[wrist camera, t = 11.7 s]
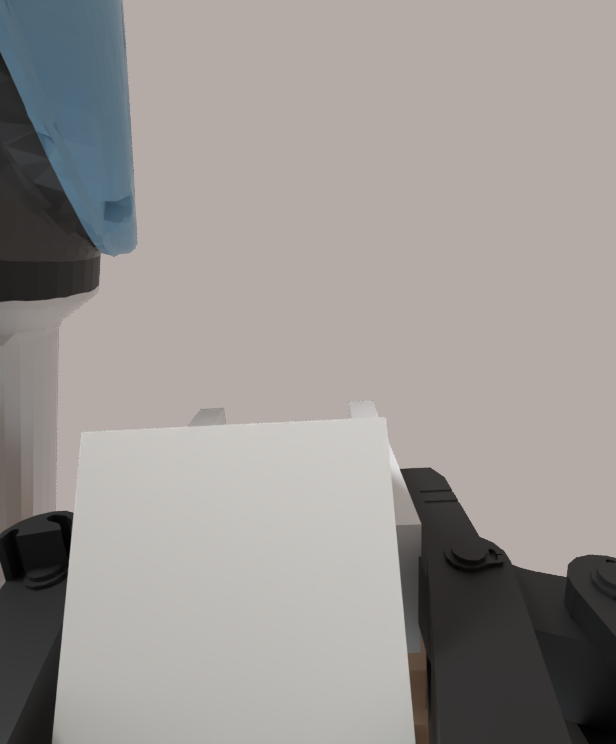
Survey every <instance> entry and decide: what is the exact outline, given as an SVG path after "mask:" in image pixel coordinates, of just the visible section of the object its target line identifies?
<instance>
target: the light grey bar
mask: <svg viewBox="0 0 616 744" xmlns="http://www.w3.org/2000/svg"><path fill="white" fill-rule="evenodd" d="M74 506H75V507H74V516H73V526H72V537H71V547H70V558H69V568H68V579H67V589H66V600H65V610H64V621H63V631H62V642H61V652H60V663H59V673H58V683H57V694H56V704H55V715H54V725H53V736H52V744H416V743H415V732H414V721H413V710H412V699H411V688H410V677H409V666H408V655H407V644H406V633H405V622H404V611H403V600H402V589H401V578H400V567H399V556H398V545H397V534H396V523H395V512H394V501H393V490H392V479H391V468H390V457H389V446H388V436H387V425H386V417H375V418H355V419H335V420H315V421H295V422H274V423H254V424H234V425H213V426H193V427H173V428H153V429H134V430H112V431H91V432H82V433H81V443H80V454H79V464H78V474H77V485H76V495H75V505H74Z"/></svg>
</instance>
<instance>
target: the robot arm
mask: <svg viewBox="0 0 616 744" xmlns="http://www.w3.org/2000/svg"><path fill="white" fill-rule="evenodd" d="M136 245H137V225H136V212H135V189H134V169H133V154H132V136H131V119H130V104H129V87H128V73H127V57H126V42H125V28H124V13H123V0H0V744H52V736H53V725H54V715H55V704H56V694H57V683H58V673H59V663H60V652H61V642H62V631H63V621H64V610H65V600H66V589H67V579H68V568H69V558H70V547H71V537H72V526H73V516H74V513H72V512H68V511H56V462H57V404H58V403H57V402H58V348H59V327H60V325H61V322H62V320H63V319H65V318H66V317H67V316H69V315H70V314H71V313H73V312H74V311H75V310H76V309H78V308H79V307H80V306H82V305H83V304H84V303H86V302H87V301H88V300H90V299H91V298H92V297H94V296H95V295H96V294H97V293H98V289H99V275H100V254H101V253H104V254H108V255H111V256H113V257H115V256H117V255H119V254H125V253H130V252H132V251H133V250H134V249H135V248H136ZM375 417H378V414H377V412H376V409H375V406H374V404H373V401H372V400H368V401H349V419H355V418H375ZM213 425H226V421H225V412H224V408H211V409H201V410H200V411H199V412H198V413H197V415H196V416H195V417H194V418H193V420H192V421H191V422H190V424H189V425H188V426H187V427H193V426H213ZM388 446H389V457H390V468H391V479H392V490H393V501H394V512H395V523H396V534H397V545H398V556H399V567H400V578H401V589H402V600H403V611H404V622H405V633H406V644H407V653H420V633H421V635H422V639H423V642H424V646H425V649H426V709H427V710H428V733H429V744H616V558H614V557H609V556H602V555H586V556H581V557H577V558H575V559H574V560H573V561H572V562H570V563H569V564H568V570H567V577H562V576H557V575H552V574H546V573H541V572H535V571H531V570H527V569H523V568H520V567H517V566H514V565H512V564H511V561H510V560H509V558H508V556H507V555H506V553H505V552H504V551H503V550H502V549H500V548H499V547H498V546H497V545H495V544H494V543H493V542H490V541H488V540H486V539H484V538H481V537H479V535H478V533H477V532H476V530H475V528H474V527H473V525H472V523H471V521H470V520H469V518H468V516H467V515H466V513H465V511H464V510H463V508H462V506H461V505H460V503H459V502H458V499H457V498H456V496H455V494H454V493H453V492H452V489H451V487H450V486H449V484H448V482H447V481H446V479H445V477H443V476H442V475H440V474H439V473H437V472H436V471H435V470H433V469H432V468H410V469H399V466H398V464H397V461H396V459H395V456H394V454H393V451H392V449H391V446H390V444H389V441H388Z"/></svg>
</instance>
